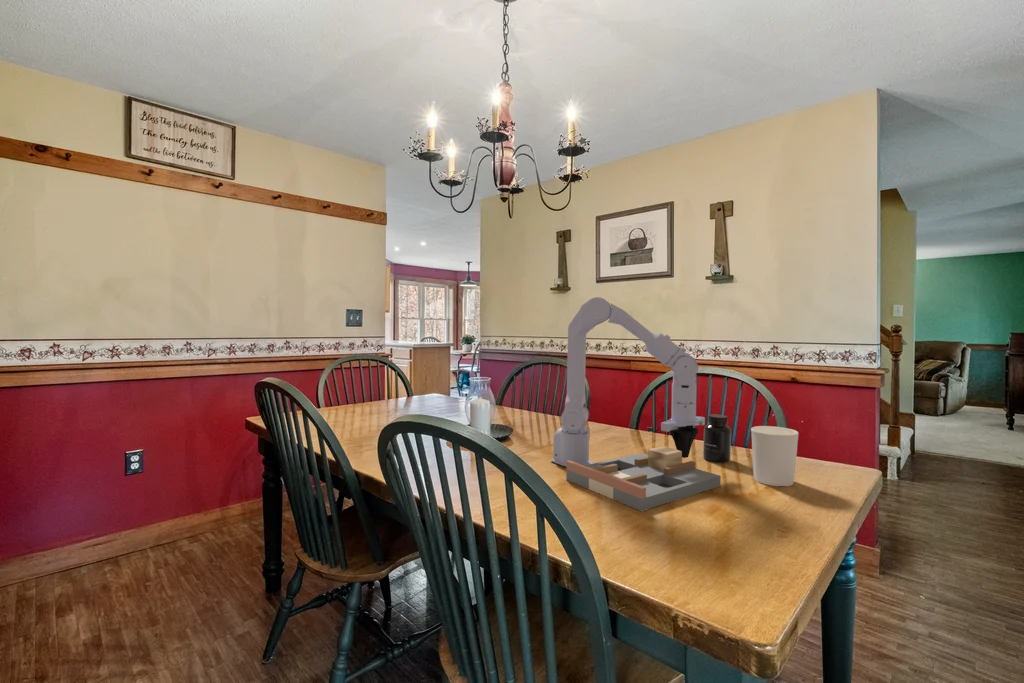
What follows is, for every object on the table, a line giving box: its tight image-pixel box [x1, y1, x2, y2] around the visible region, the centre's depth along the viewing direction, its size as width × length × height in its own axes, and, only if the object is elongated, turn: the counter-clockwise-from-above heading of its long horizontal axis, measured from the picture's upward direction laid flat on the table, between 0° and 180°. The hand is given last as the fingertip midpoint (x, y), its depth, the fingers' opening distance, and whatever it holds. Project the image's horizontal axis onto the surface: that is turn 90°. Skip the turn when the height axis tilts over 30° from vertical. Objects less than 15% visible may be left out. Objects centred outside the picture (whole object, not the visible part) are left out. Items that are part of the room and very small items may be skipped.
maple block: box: [647, 446, 683, 471], centre depth 116 cm, size 6×6×4 cm
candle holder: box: [750, 425, 800, 487], centre depth 113 cm, size 10×10×12 cm
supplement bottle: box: [702, 414, 732, 464], centre depth 131 cm, size 7×7×12 cm
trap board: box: [565, 452, 722, 512], centre depth 112 cm, size 23×26×4 cm
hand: (683, 456), depth 120 cm, fingers closed
